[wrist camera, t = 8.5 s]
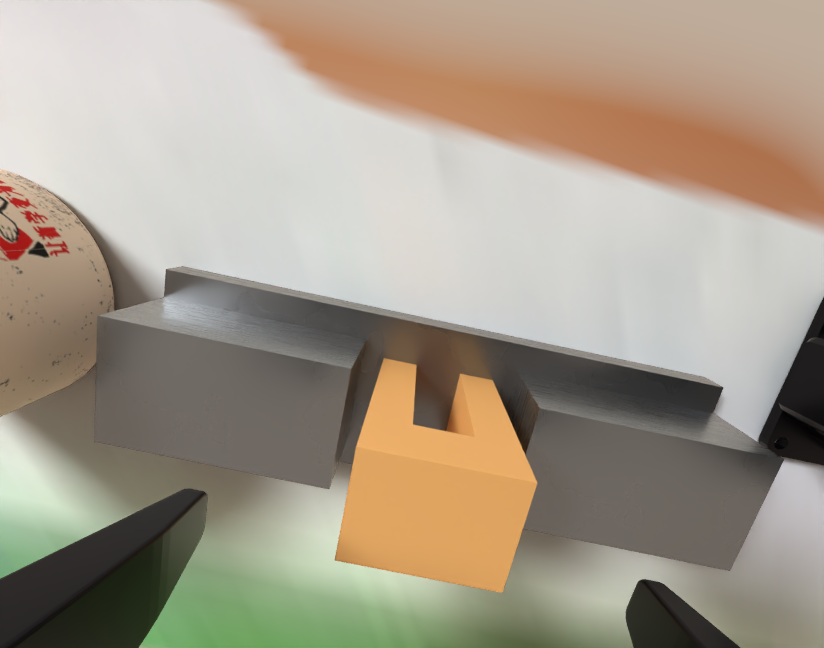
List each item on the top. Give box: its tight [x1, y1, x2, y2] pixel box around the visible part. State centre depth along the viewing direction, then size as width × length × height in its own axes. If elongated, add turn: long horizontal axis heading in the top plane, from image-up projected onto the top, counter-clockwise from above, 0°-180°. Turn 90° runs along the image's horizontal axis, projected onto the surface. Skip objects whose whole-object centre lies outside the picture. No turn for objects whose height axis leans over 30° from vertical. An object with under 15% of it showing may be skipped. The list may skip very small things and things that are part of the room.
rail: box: [94, 267, 784, 571], centre depth 14 cm, size 20×6×4 cm, turn 78°
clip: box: [335, 358, 537, 593], centre depth 12 cm, size 4×3×6 cm
